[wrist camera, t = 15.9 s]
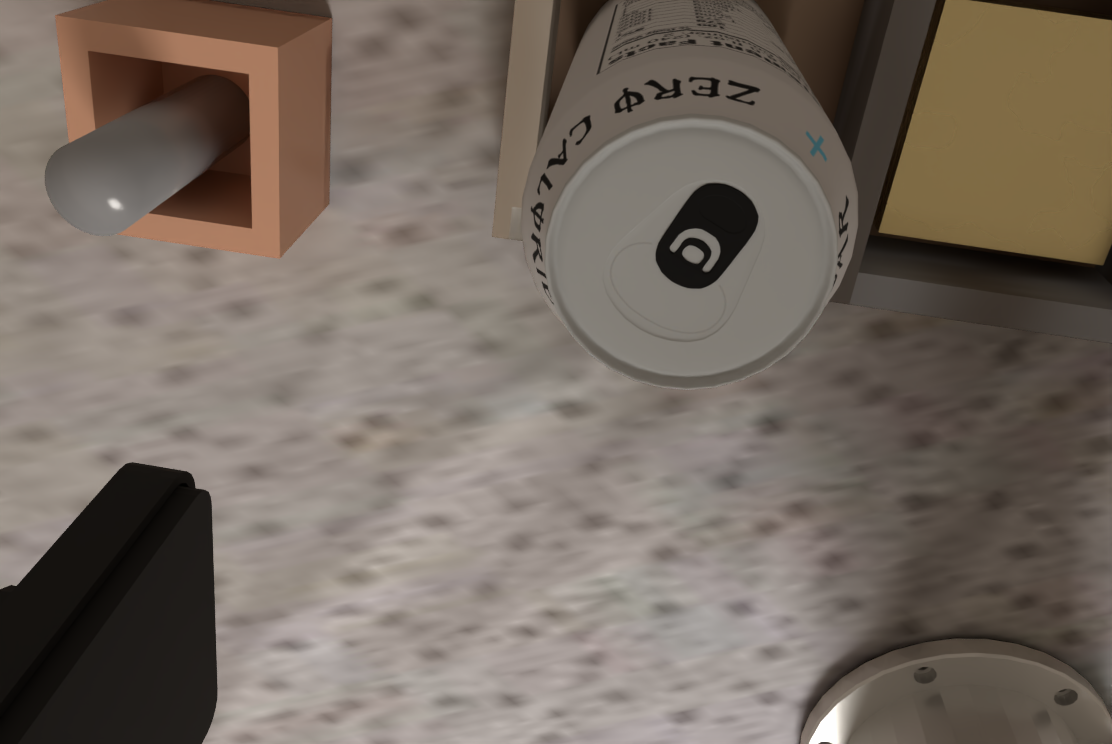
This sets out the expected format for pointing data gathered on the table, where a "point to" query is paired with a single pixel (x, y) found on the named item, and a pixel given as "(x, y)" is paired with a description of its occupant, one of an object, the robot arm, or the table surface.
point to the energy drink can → (687, 195)
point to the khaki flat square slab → (1007, 133)
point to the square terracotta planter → (194, 123)
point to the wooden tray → (868, 138)
